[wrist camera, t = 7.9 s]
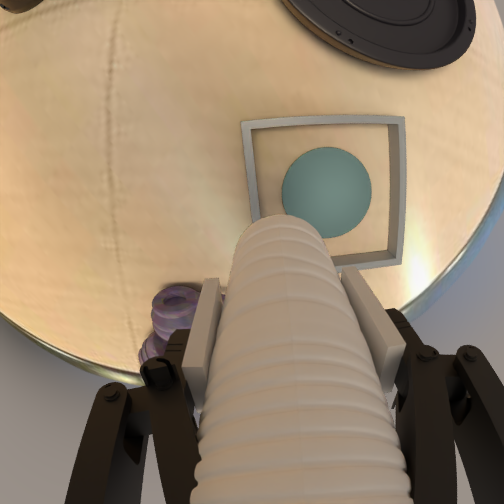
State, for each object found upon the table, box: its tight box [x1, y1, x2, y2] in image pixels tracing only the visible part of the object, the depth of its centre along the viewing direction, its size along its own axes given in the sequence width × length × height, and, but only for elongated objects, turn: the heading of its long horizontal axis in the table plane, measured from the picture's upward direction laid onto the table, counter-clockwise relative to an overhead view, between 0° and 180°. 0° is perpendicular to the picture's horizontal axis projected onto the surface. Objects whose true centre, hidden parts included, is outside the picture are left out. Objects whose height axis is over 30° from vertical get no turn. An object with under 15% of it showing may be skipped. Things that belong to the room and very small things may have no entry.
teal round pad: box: [282, 147, 372, 238], centre depth 37 cm, size 12×12×1 cm
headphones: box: [138, 286, 225, 365], centre depth 43 cm, size 18×8×20 cm
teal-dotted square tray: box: [241, 115, 406, 273], centre depth 36 cm, size 20×20×3 cm
